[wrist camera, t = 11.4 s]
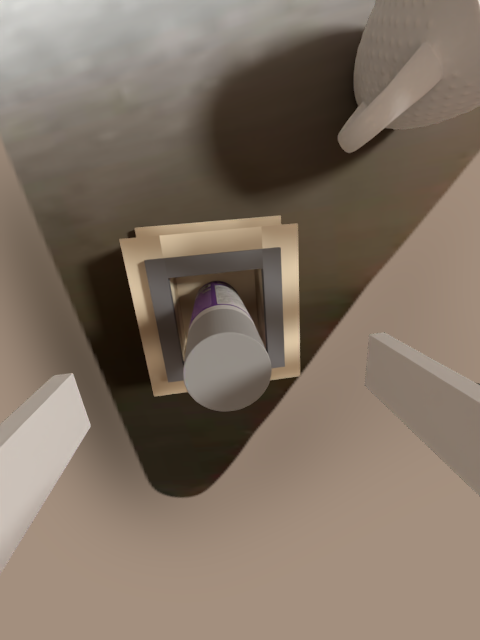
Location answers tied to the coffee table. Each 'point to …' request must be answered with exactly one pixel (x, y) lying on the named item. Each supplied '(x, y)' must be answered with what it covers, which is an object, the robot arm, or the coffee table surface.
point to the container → (224, 351)
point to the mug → (414, 67)
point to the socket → (203, 267)
